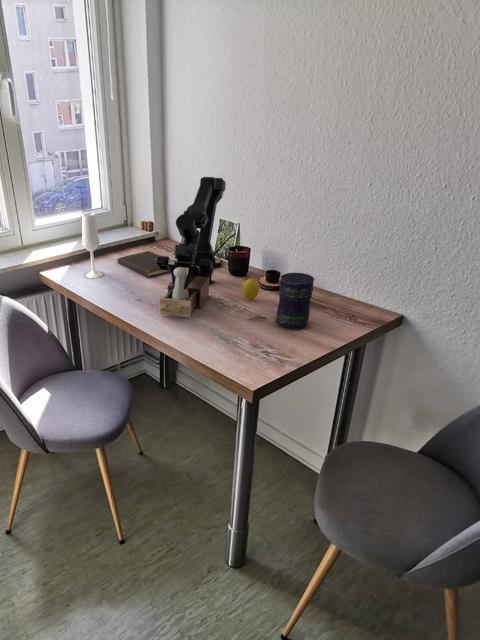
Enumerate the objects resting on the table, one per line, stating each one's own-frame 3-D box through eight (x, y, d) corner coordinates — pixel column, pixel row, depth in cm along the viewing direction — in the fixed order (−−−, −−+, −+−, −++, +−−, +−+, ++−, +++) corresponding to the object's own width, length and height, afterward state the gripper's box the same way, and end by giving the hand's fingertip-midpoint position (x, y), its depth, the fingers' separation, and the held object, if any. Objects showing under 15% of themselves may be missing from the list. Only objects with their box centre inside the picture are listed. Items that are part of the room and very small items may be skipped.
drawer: (186, 322, 160) (186, 307, 157) (155, 318, 163) (155, 303, 160) (198, 305, 171) (199, 290, 168) (170, 302, 175) (169, 287, 172)
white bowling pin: (174, 301, 172) (174, 264, 165) (190, 303, 170) (191, 266, 163) (169, 308, 167) (169, 270, 160) (186, 310, 166) (186, 272, 159)
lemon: (259, 298, 177) (261, 276, 173) (255, 304, 173) (257, 281, 168) (244, 296, 179) (246, 274, 175) (240, 301, 175) (241, 280, 170)
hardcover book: (148, 255, 222) (148, 250, 221) (179, 269, 206) (179, 263, 205) (117, 263, 215) (117, 258, 214) (147, 277, 199) (146, 272, 197)
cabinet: (200, 308, 171) (200, 288, 167) (167, 304, 175) (167, 285, 171) (208, 296, 180) (209, 277, 177) (177, 292, 184) (177, 274, 180)
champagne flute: (105, 273, 205) (100, 213, 192) (95, 278, 200) (89, 217, 187) (92, 271, 208) (86, 211, 195) (82, 276, 203) (75, 215, 190)
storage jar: (302, 332, 153) (308, 286, 145) (271, 326, 157) (275, 280, 149) (311, 320, 160) (318, 275, 152) (281, 314, 164) (286, 270, 156)
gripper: (156, 231, 162) (145, 275, 160) (212, 234, 156) (202, 280, 154) (164, 248, 173) (154, 289, 170) (217, 252, 167) (208, 295, 164)
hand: (179, 288), depth 164 cm, fingers closed on white bowling pin, 3 cm apart
